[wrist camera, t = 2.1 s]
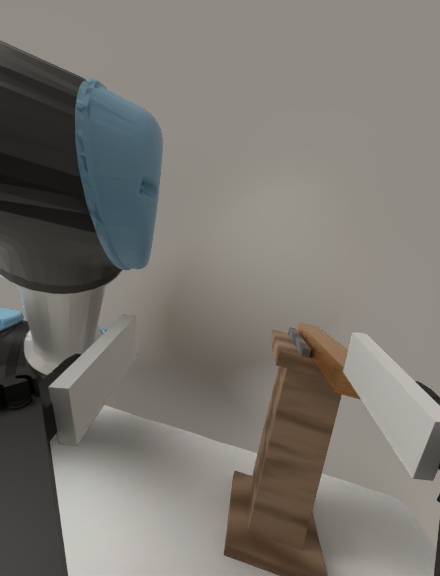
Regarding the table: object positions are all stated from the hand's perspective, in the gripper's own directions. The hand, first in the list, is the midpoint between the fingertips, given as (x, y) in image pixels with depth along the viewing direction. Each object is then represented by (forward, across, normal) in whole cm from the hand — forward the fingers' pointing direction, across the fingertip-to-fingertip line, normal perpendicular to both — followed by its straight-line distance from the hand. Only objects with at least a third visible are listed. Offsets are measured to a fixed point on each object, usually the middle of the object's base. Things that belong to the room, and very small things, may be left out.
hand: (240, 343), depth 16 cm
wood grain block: (+17, +12, -11) cm, 24 cm away
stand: (+15, +9, -41) cm, 44 cm away
